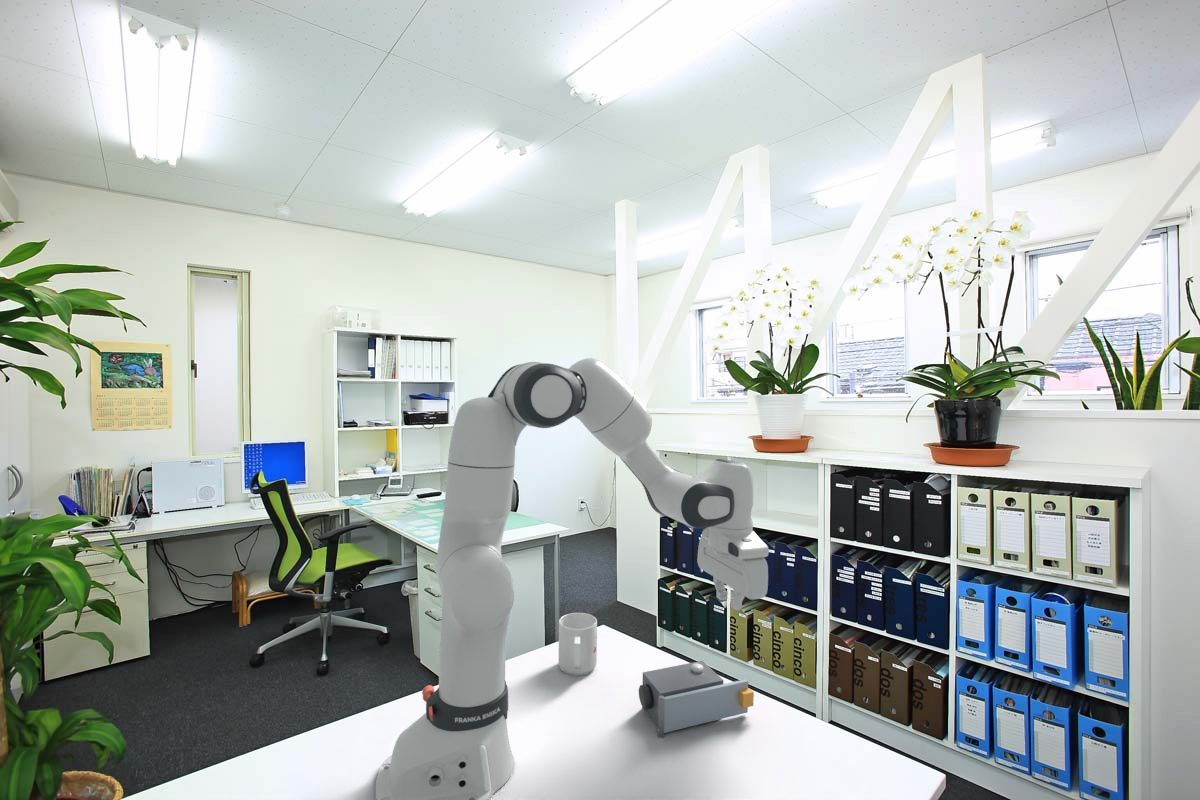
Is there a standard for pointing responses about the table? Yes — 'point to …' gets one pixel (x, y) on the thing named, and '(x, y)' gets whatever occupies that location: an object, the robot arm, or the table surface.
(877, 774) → the table surface
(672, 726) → the side door
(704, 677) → the camera case
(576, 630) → the mug
